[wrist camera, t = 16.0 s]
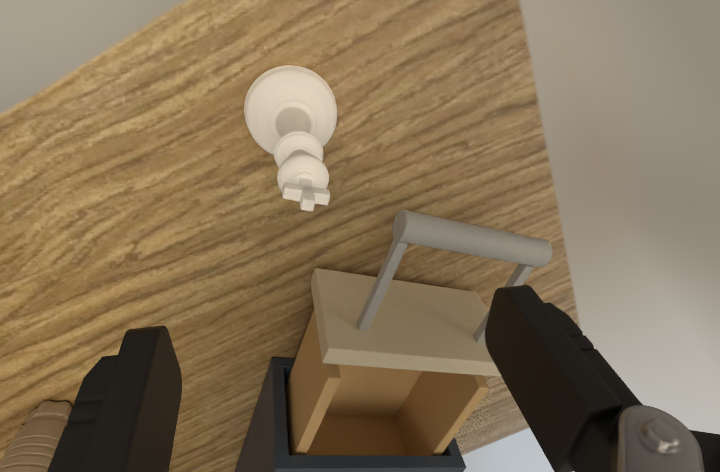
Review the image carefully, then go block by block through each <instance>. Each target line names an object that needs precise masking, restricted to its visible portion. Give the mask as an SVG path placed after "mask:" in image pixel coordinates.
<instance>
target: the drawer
mask: <svg viewBox="0 0 720 472" xmlns="http://www.w3.org/2000/svg"><path fill="white" fill-rule="evenodd" d="M392 232H393V237H394V240H393V243H392V245H391V247H390V249H389V252H388V254H387V256H386V258H385V261H384V263H383V265H382V267H381V270H380V272H379V274H378V276H377V277H373V276H366V275H360V274H353V273H346V272H340V271H333V270H327V269H320V268H315V269H314V272H313V275H312V278H311V281H310V282H311V289H312V296H313V302H314V311H313V313H312V316H311V319H310V322H309V324H308V327H307V330H306V332H305V335H304V338H303V340H302V343H301V346H300V349H299V351H298V354H297V357H296V359H295V362H294V365H293V368H292V370H291V373H290V376H289V378H288V381H287V384H286V386H285V398H286V416H287V434H288V452H289V455H348V456H441V454H442V453H443V451H444V450H445V449H446V447H447V446H448V445H449V443H450V442H451V440H452V439H453V438H454V436H455V435H456V434H457V432H458V431H459V429H460V428H461V427H462V425H463V424H464V422H465V421H466V420H467V418H468V417H469V416H470V414H471V413H472V411H473V410H474V409H475V407H476V406H477V405H478V403H479V402H480V400H481V399H482V398H483V396H484V395H485V393H486V392H487V391H488V389H489V387H488V385H487V383H486V381H485V379H484V377H483V375H484V376H497V377H502V376H501V374H500V373H499V371H498V369H497V367H496V365H495V363H494V362H493V360H492V358H491V356H490V354H489V352H488V350H487V347H486V343H485V327H486V323H487V320H488V316H489V312H490V310H489V312H488V310H487V308H486V307H485V305H484V303H483V302H482V300H481V299H480V297H479V295H478V294H477V292H472V291H465V290H458V289H452V288H445V287H439V286H432V285H425V284H419V283H412V282H406V281H399V280H393V279H392V278H393V276H394V274H395V272H396V269H397V267H398V265H399V263H400V261H401V259H402V257H403V254H404V252H405V250H406V248H407V246H408V243H409V244H415V245H420V246H425V247H431V248H436V249H442V250H447V251H453V252H458V253H463V254H469V255H474V256H480V257H485V258H490V259H496V260H501V261H507V262H512V263H518V264H519V265H518V266H517V268H516V269H515V271H514V272H513V274H512V276H511V277H510V279H509V280H508V282H507V283H506V285H505V286H504V287H511V286H520V285H523V284H524V282H525V281H526V279H527V278H528V276H529V275H530V273H531V272H532V270H533V269H534V267H544V266H546V265H547V264H548V263H549V262H550V260H551V257H552V246H551V244H550V243H549V242H548V241H547V240H544V239H539V238H535V237H530V236H525V235H521V234H516V233H511V232H507V231H502V230H497V229H492V228H488V227H483V226H478V225H474V224H469V223H464V222H459V221H455V220H450V219H445V218H441V217H436V216H431V215H427V214H422V213H417V212H412V211H408V210H400V211H399V212H398V213H397V215H396V217H395V219H394V223H393V230H392ZM533 266H534V267H533Z"/></svg>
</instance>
